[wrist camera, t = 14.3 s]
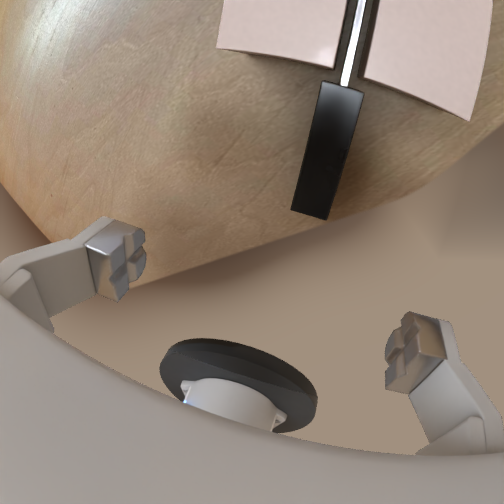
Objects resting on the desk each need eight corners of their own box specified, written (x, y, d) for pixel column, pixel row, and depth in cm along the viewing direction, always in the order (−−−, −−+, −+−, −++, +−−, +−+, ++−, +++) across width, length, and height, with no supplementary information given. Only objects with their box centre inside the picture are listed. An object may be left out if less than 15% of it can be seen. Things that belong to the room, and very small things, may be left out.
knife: (328, 203, 22) (326, 221, 20) (296, 193, 22) (290, 210, 20) (389, -57, 9) (395, -73, 7) (353, -67, 9) (353, -85, 7)
